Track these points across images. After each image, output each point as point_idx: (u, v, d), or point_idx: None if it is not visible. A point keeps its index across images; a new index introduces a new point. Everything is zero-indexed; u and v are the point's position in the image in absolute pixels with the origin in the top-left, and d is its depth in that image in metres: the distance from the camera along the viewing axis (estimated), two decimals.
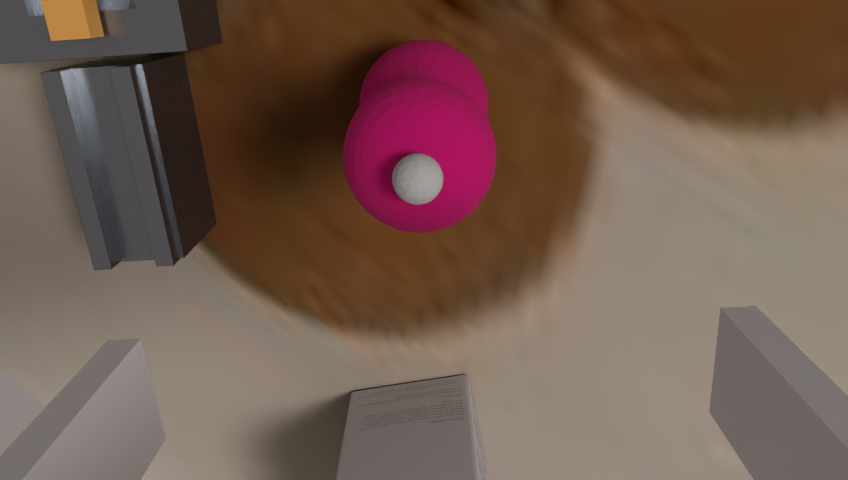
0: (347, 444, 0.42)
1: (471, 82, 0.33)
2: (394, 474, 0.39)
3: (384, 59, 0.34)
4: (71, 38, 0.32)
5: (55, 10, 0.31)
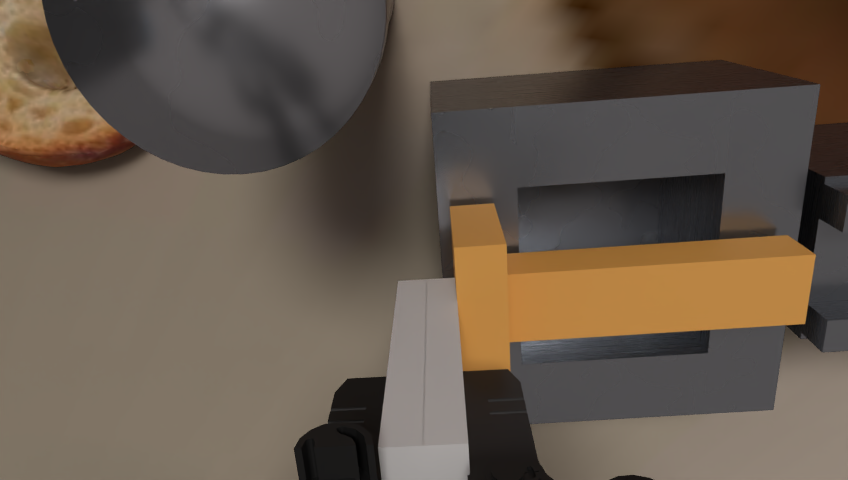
0: None
1: None
2: None
3: None
4: (808, 288, 0.17)
5: (755, 306, 0.17)
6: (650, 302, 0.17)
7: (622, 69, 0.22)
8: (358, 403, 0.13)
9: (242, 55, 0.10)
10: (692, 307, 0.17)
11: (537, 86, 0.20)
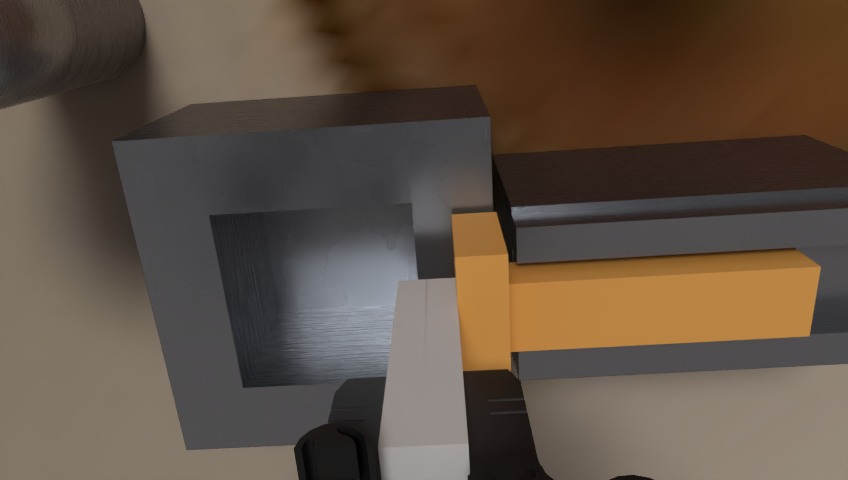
0: None
1: None
2: None
3: None
4: (812, 300, 0.17)
5: (759, 318, 0.17)
6: (653, 313, 0.17)
7: (372, 94, 0.22)
8: (358, 403, 0.13)
9: None
10: (695, 318, 0.17)
11: (262, 112, 0.20)
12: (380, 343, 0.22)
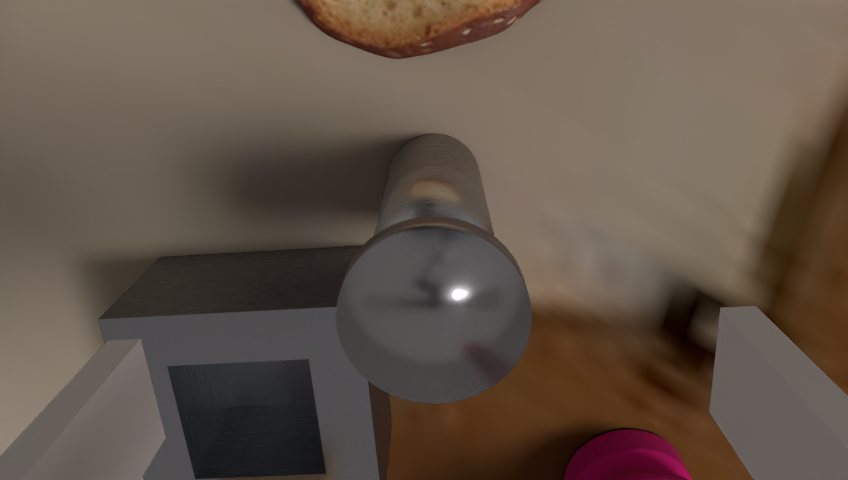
0: None
1: None
2: None
3: None
4: None
5: None
6: None
7: None
8: None
9: (407, 333, 0.17)
10: None
11: None
12: (205, 415, 0.29)
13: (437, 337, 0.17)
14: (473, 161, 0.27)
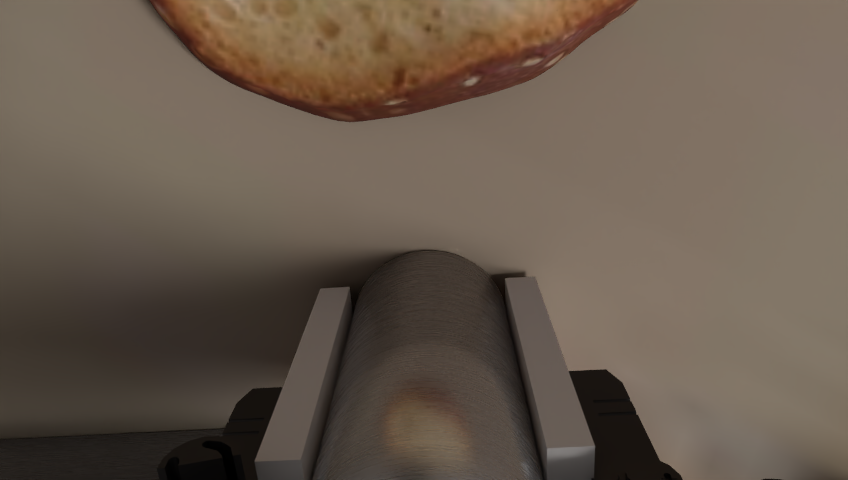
0: None
1: None
2: None
3: None
4: None
5: None
6: None
7: None
8: (257, 414, 0.13)
9: None
10: None
11: None
12: None
13: None
14: (498, 307, 0.15)
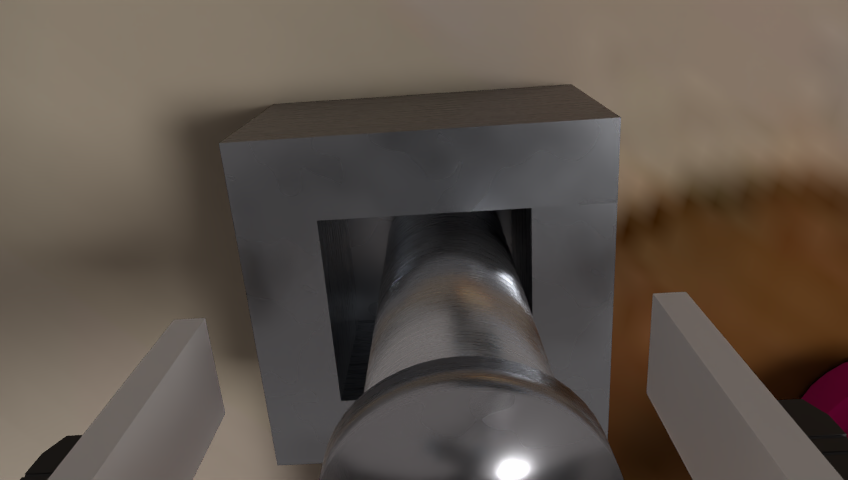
0: None
1: None
2: None
3: None
4: None
5: None
6: None
7: None
8: (58, 467, 0.12)
9: None
10: None
11: None
12: (345, 317, 0.21)
13: None
14: (498, 225, 0.21)
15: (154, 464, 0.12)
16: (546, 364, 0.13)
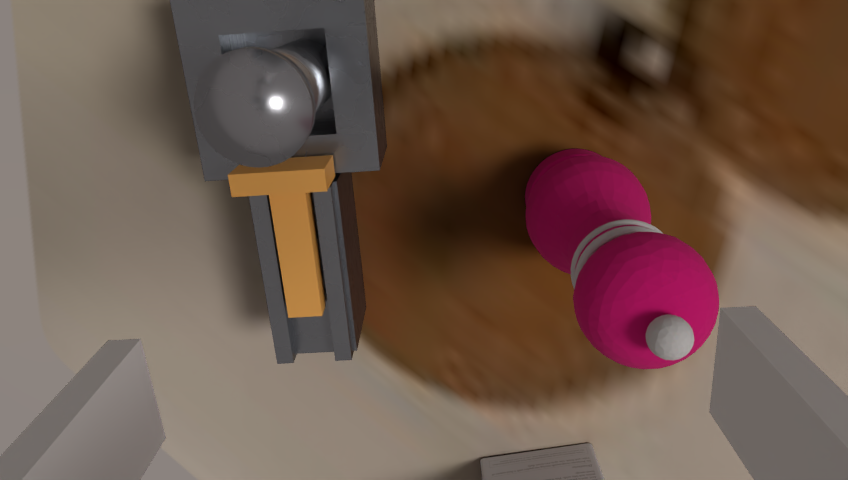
0: None
1: (643, 200, 0.36)
2: None
3: (559, 176, 0.37)
4: (305, 315, 0.38)
5: (295, 296, 0.38)
6: (294, 251, 0.37)
7: (381, 92, 0.40)
8: None
9: (238, 117, 0.28)
10: (293, 270, 0.37)
11: (373, 41, 0.37)
12: None
13: (256, 120, 0.28)
14: (327, 56, 0.38)
15: None
16: None
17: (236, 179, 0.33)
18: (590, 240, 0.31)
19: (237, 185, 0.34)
